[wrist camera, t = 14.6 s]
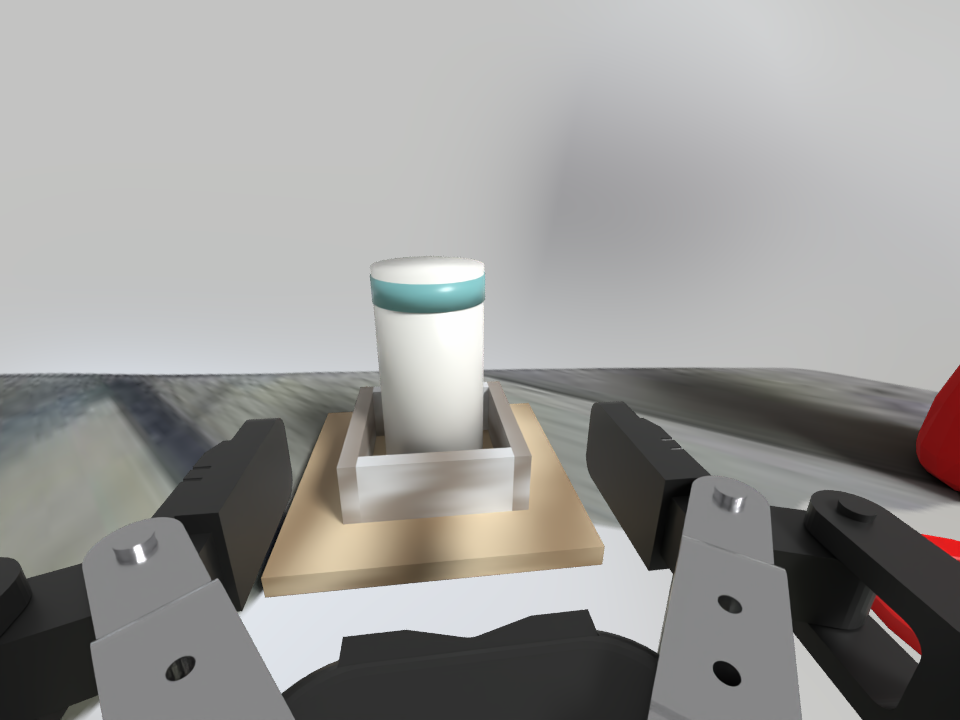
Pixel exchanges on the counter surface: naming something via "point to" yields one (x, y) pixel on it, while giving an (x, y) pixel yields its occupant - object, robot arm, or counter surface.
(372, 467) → the wooden square holder
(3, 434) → the counter surface
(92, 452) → the counter surface
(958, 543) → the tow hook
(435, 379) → the cylindrical container
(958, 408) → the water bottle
